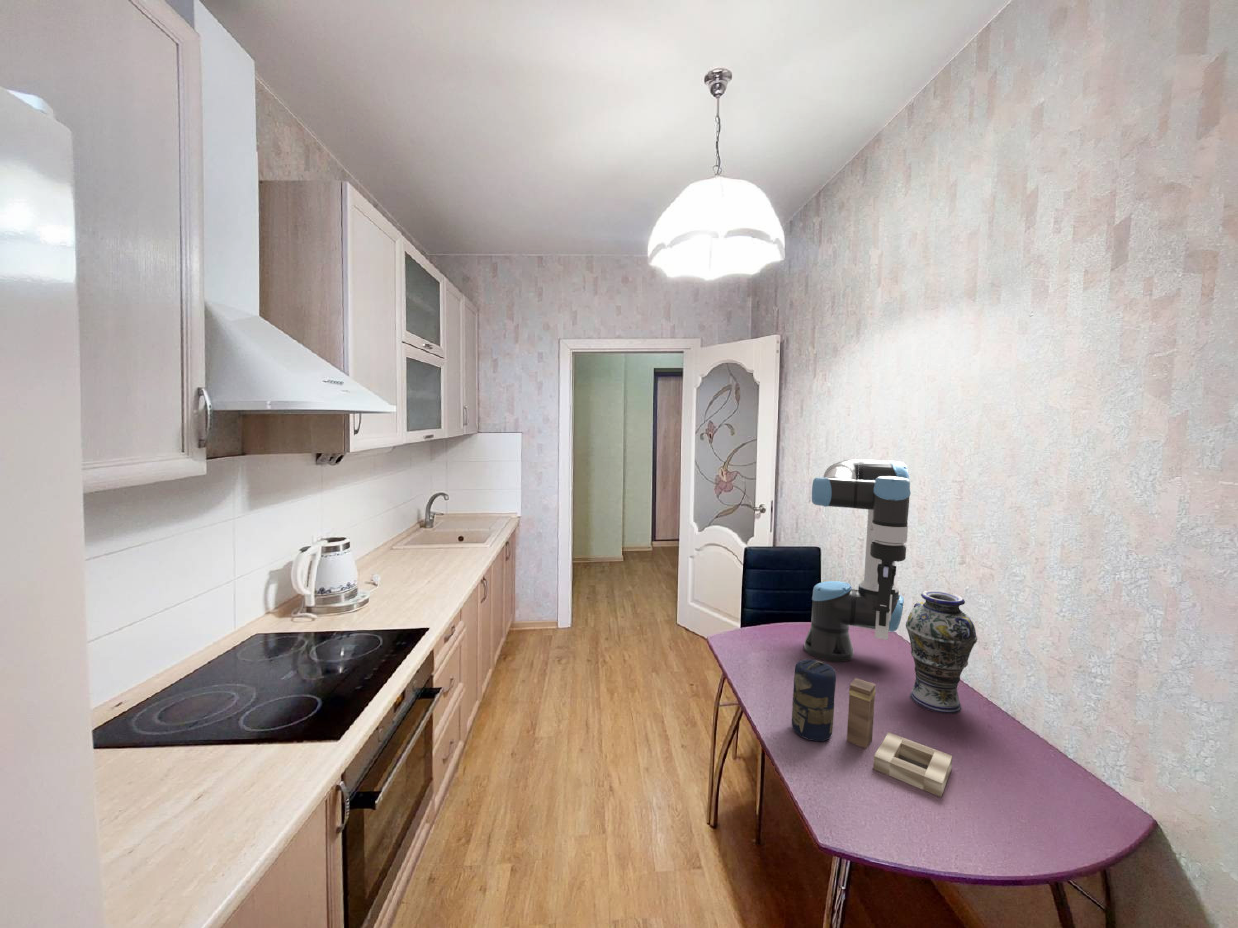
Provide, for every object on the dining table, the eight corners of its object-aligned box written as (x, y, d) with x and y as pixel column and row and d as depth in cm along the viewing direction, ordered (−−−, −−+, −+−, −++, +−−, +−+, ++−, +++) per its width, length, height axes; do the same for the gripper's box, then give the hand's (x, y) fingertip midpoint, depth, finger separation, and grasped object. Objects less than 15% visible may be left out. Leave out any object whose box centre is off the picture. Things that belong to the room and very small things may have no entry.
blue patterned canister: (783, 725, 132) (786, 656, 130) (814, 718, 135) (817, 651, 134) (808, 747, 123) (812, 673, 121) (841, 740, 126) (845, 668, 125)
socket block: (887, 744, 125) (888, 732, 125) (951, 768, 116) (952, 755, 116) (873, 768, 116) (873, 755, 116) (941, 797, 107) (942, 783, 107)
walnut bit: (852, 732, 129) (855, 677, 128) (872, 740, 126) (875, 684, 125) (846, 740, 126) (849, 684, 125) (866, 748, 123) (870, 691, 122)
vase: (943, 724, 134) (952, 610, 131) (886, 691, 149) (893, 589, 147) (987, 712, 140) (996, 602, 137) (927, 682, 156) (934, 583, 153)
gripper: (874, 530, 137) (869, 609, 139) (866, 550, 116) (861, 643, 117) (907, 534, 134) (901, 615, 135) (905, 555, 112) (899, 651, 114)
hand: (883, 628), depth 126 cm, fingers open, 13 cm apart
